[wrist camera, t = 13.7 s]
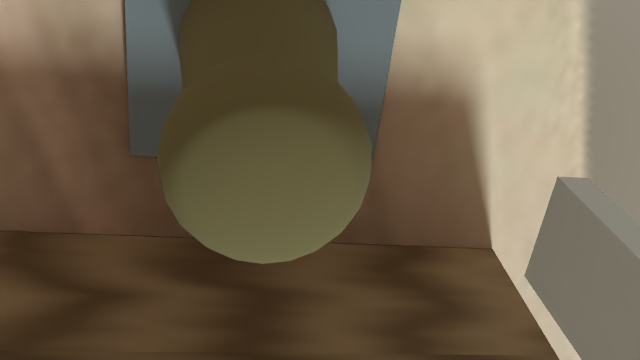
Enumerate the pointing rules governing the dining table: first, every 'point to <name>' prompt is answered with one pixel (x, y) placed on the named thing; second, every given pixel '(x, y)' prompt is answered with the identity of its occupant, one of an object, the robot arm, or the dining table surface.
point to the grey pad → (165, 73)
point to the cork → (262, 131)
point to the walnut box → (256, 303)
